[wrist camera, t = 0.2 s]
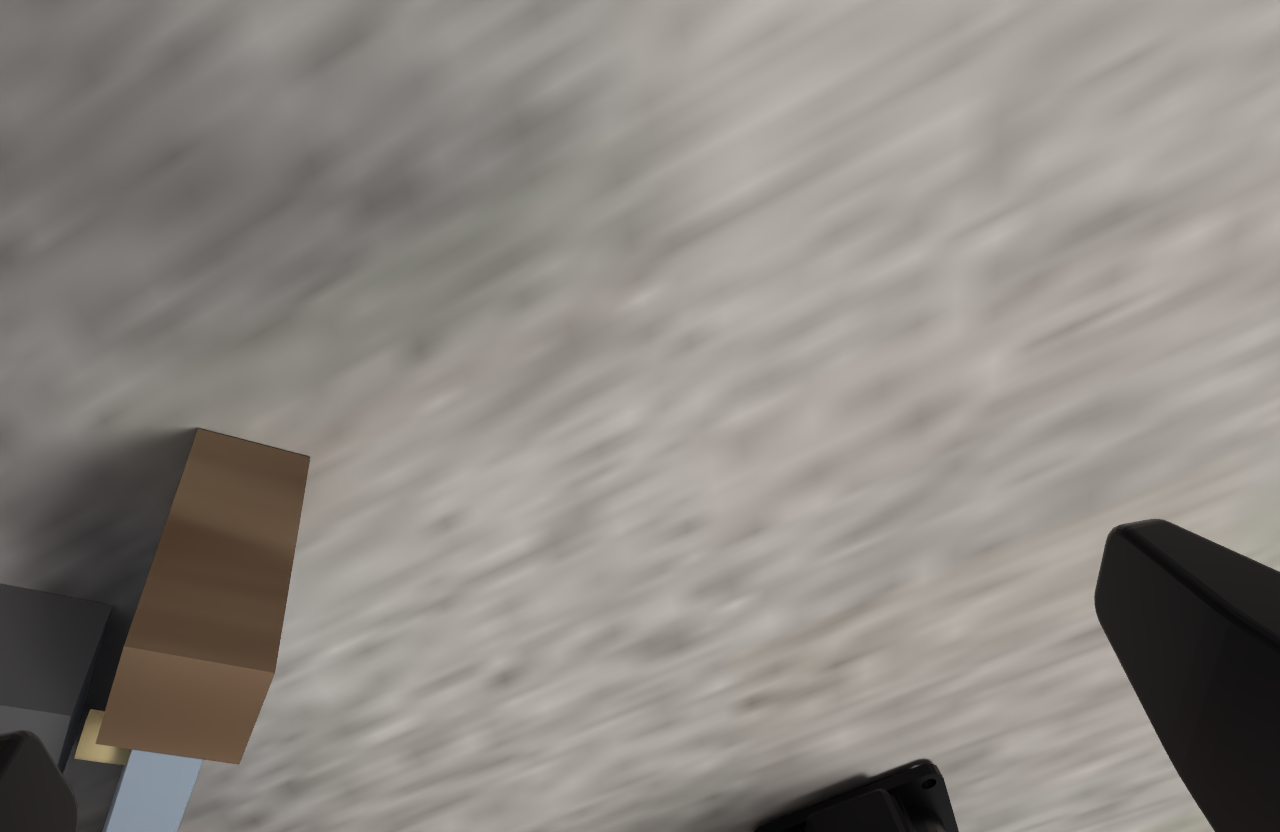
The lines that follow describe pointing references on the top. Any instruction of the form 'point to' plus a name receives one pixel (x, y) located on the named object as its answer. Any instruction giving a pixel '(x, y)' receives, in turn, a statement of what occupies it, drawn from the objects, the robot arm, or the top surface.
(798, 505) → the top surface
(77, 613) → the dark grey stepped block
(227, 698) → the frame
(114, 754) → the door
